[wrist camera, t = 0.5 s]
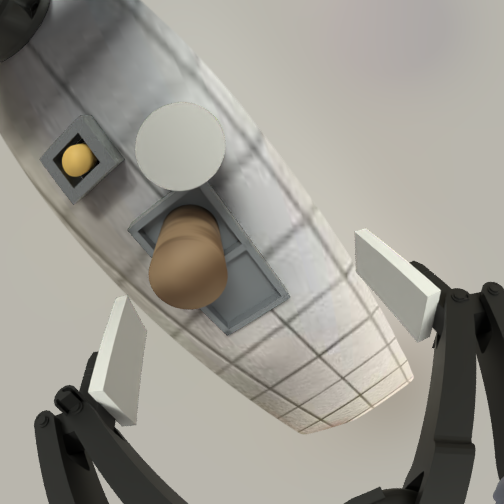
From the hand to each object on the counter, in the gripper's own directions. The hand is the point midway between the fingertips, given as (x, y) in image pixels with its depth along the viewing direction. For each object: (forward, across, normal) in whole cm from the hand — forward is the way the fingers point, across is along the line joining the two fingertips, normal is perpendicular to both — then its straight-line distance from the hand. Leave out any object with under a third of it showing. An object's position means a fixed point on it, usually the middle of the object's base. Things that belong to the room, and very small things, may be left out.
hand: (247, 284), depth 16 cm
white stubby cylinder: (+25, -2, +7) cm, 26 cm away
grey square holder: (+25, -16, +9) cm, 31 cm away
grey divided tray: (+25, -3, -11) cm, 27 cm away
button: (+24, -16, +9) cm, 30 cm away
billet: (+24, -5, -6) cm, 25 cm away
